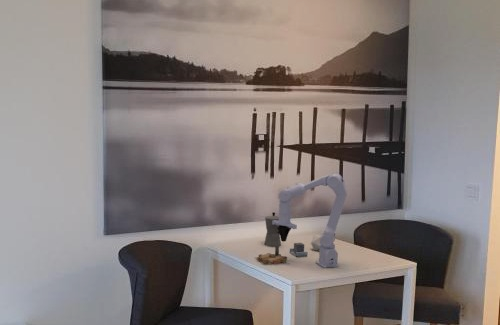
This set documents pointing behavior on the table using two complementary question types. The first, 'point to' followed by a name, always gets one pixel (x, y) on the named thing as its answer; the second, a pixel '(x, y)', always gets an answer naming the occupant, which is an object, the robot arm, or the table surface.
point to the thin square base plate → (273, 263)
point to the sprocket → (272, 257)
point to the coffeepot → (272, 232)
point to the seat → (298, 253)
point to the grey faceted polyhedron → (316, 242)
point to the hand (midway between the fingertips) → (283, 241)
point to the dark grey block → (298, 247)
